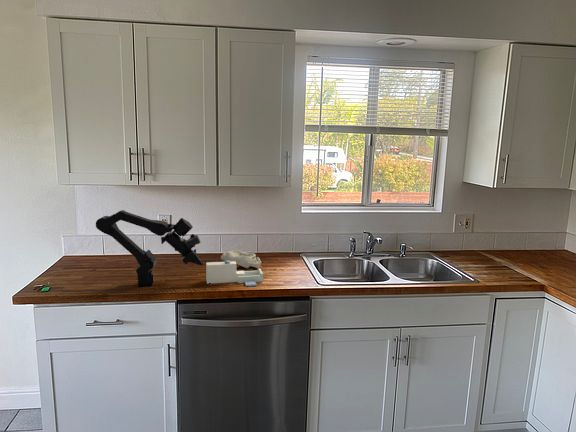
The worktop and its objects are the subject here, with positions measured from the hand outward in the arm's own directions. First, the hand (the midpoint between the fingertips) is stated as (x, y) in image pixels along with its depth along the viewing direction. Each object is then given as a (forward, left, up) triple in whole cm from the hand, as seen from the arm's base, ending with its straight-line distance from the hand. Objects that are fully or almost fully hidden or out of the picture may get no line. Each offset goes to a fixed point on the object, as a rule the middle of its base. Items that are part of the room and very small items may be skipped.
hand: (202, 264), depth 199 cm
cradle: (+22, 0, -9) cm, 24 cm away
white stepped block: (+11, 0, -9) cm, 14 cm away
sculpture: (+21, +25, -9) cm, 34 cm away
